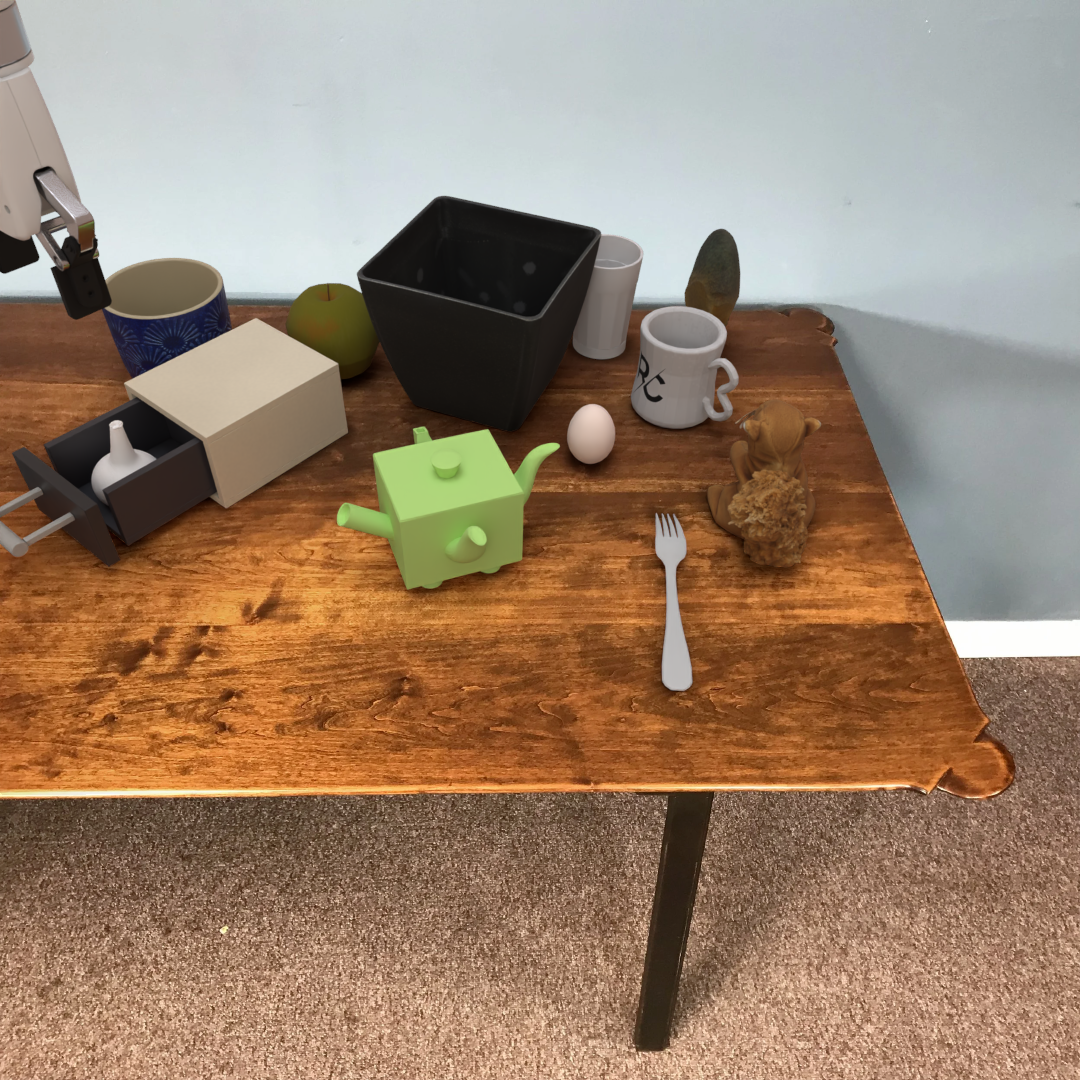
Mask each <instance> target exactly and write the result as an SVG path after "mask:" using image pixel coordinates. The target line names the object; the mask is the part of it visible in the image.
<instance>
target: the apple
mask: <svg viewBox="0 0 1080 1080" xmlns="http://www.w3.org/2000/svg"><path fill="white" fill-rule="evenodd" d="M284 325H285V330H286V333H287V334H286V335H288V336H289V337H291V338H293V339H295V340H297V341H298V342H300V343H302V344H304V345H306V346H307V347H309V348H311V349H313V350H315V351H316V352H318V353H320V354H322V355H324V356H325V357H327V358H329V359H331V360H333V361H334V362H336V363H338V365H339V373H340V380H347V379H352V378H354V377H357V376H359V375H361V374H363V373H364V372H365V371H366V370H367V369H369V368H370V367H371V364H372V363H373V360H374V357H375V354H376V352H377V350H378V347H379V346H380V342H379V339H378V337H377V335H376V332H375V329H374V327H373V324H372V322H371V319H370V316H369V313H368V310H367V307H366V304H365V301H364V298H363V295H362V292H361V291H359V290H357V289H356V288H354V287H352V286H350V285H348V284H344V283H339V282H335V283H334V282H327V283H318V284H314V285H311V286H309V287H307V288H305V290H303V291H302V292H301V293H300V294H299V295H298V296H297V297H296V298H295V299H294V300H293V302H292V304H291V306H290V307H289V311H288V314H287V317H286V321H285V324H284Z"/></svg>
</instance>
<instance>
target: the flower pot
mask: <svg viewBox="0 0 1080 1080" xmlns="http://www.w3.org/2000/svg"><path fill="white" fill-rule="evenodd" d="M601 234H602V231H601V230H600V229H598V228H596V227H594V226H588V225H585V224H580V223H576V222H570V221H565V220H561V219H558V218H553V217H547V216H542V215H538V214H533V213H529V212H525V211H519V210H515V209H511V208H506V207H501V206H498V205H497V206H496V205H492V204H488V203H484V202H477V201H473V200H469V199H464V198H459V197H456V196H450V195H439V196H436V197H434V198H433V199H432V200H431V201H430V202H429V203H427V205H426V206H424V207H423V208H422V209H421V211H420V212H418V213H417V214H416V215H415V216H414V217H413V218H412V219H411V220H410V221H409V222H407V224H406V225H404V226H403V228H402V229H401V230H400V231H398V232H397V233H396V234H395V235H394V236H393V237H392V238H391V239H390V240H389V241H388V242H387V243H386V244H385V245H384V246H383V247H382V248H380V250H378V252H377V253H375V254H374V255H373V256H372V257H371V258H370V259H369V260H368V261H367V262H366V263H364V264H363V265H362V267H361V268H359V270H358V271H357V272H356V278H357V281H358V284H359V288H360V292H361V293H362V295H363V298H364V301H365V304H366V307H367V310H368V313H369V316H370V319H371V322H372V324H373V327H374V329H375V332H376V335H377V337H378V339H379V345H380V346H381V349H382V350H383V353H384V355H385V358H386V359H387V361H388V363H389V365H390V367H391V369H392V371H393V373H394V374H395V376H396V379H397V380H398V382H399V384H400V386H401V387H402V389H403V391H404V392H405V394H406V396H407V397H408V399H409V401H410V402H411V404H412V405H414V406H415V407H419V408H421V409H422V408H423V409H426V410H429V411H433V412H437V413H441V414H444V415H448V416H451V417H454V418H457V419H462V420H465V421H469V422H472V423H476V424H480V425H483V426H487V427H489V428H490V427H491V428H494V429H497V430H501V431H506V432H509V433H510V432H516V431H518V430H519V429H520V428H521V427H522V425H523V424H524V423H525V420H526V419H527V418H528V417H529V415H530V413H531V411H532V410H533V408H534V407H535V405H536V404H537V403H538V401H539V399H540V398H541V397H542V395H543V394H544V392H545V390H546V389H547V387H548V386H549V384H550V382H551V381H552V380H553V379H554V377H555V376H556V374H557V372H558V370H559V368H560V365H561V364H562V361H563V359H564V356H565V354H566V352H567V349H568V347H569V344H570V341H571V339H572V338H573V333H574V329H575V326H576V324H577V321H578V318H579V315H580V312H581V309H582V306H583V303H584V300H585V297H586V293H587V290H588V287H589V283H590V280H591V276H592V272H593V268H594V264H595V260H596V257H597V253H598V248H599V244H600V239H601Z"/></svg>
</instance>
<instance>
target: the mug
mask: <svg viewBox="0 0 1080 1080" xmlns="http://www.w3.org/2000/svg"><path fill="white" fill-rule="evenodd" d="M639 331H640V332H639V334H640V335H639V336H640V337H639V338H640V339H639V340H640V341H639V344H640V345H639V347H640V348H639V349H640V350H639V358H638V364H637V371H636V373H635V377H634V381H633V385H632V390H631V393H630V401H631V406H632V408H633V409H634V411H635V412H636V413H637V414H638V416H639V417H641V418H642V419H643V420H644V421H646V422H648V423H650V424H652V425H655V426H657V427H660V428H666V429H671V430H672V429H673V430H679V429H681V430H682V429H688V428H692V427H695V426H698V425H699V424H701V423H704V422H705V421H706V420H707V419H708V418H710V420H712V421H716V422H720V423H721V422H725V421H727V420H728V419H729V418H730V417H731V416H732V415H733V412H734V411H733V410H734V407H733V404H732V402H731V401H730V399H729V396H728V395H727V394H728V393H731V392H733V391H734V390H735V389H736V388H737V386H738V384H739V378H740V377H739V374H738V371H737V369H736V367H735V366H734V364H733V363H732V362H731V361H729V360H728V359H727V358H726V357H725V358H724V357H723V358H722V357H721V356H722V354H723V350H724V348H725V345H726V341H727V338H728V337H727V335H728V332H727V329H726V326H724V324H723V323H722V322H721V321H720V320H719V319H718V318H716V317H715V316H713V315H712V314H710V313H707V312H705V311H703V310H699V309H696V308H691V307H686V306H684V305H676V306H675V305H672V306H665V307H660V308H657V309H655V310H652V311H650V312H649V313H648V314H646V315H645V316H644V317H643V319H642V320H641V324H640V330H639ZM720 368H722V369H724V371H725V372H726V374H727V376H728V379H729V381H728V382H727V383H725V384H724V383H723V384H722V385H720V386H718V388H717V390H716V381H717V380H716V379H717V374H718V369H720ZM715 394H716V396H717V400H718V401H719V403H720V405H721V408H722V409H723V411H721V412H717V411H716V410H715V409H714V406H715Z"/></svg>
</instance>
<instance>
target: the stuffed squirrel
mask: <svg viewBox="0 0 1080 1080" xmlns="http://www.w3.org/2000/svg"><path fill="white" fill-rule="evenodd" d="M752 416H753V417H752ZM751 417H752V419H750V418H751ZM739 423H740V425H739V427H738V428H739V429H742V428H743V430H744V431H745V432H746V433H747V441H746V440H737V441H735V442H734V443H733V444H732V445H731V448H730V450H729V460H730V463H731V466H732V467H733V471H734V474H735V475H734V476H735V477H736V478H737V481H734V482H730V483H728V484H725V485H722V484H714V485H710V486H709V487H708V488H707V491H706V492H707V493H706V494H707V495H706V496H707V502H708V505H709V508H710V512H711V515H712V517H713V520H714V521H715V523H716V524H717V525H718V526H719V527H721V528H722V529H724V530H725V531H727V532H728V533H730V534H731V535H733V536H735V537H737V538H740V539H742V540H743V541H742V543H743V553H744V554H746V555H749V560H750V561H752V562H753V563H756V564H757V565H760V566H763V565H764V566H765V565H767V566H769V567H774V568H780V567H781V568H790V567H794V565H795V564H801V559H802V554H803V553H804V552H805V549H806V548H807V540H808V538H809V536H808V534H809V531H808V526H809V525H810V523H811V522H812V519H813V517H814V514H815V511H816V505H817V504H816V500H815V497H814V495H813V493H812V491H811V490H810V488H809V477H808V472H807V470H806V467H805V463H804V460H803V458H802V453H803V451H804V448H805V439H806V438H808V437H809V436H812V435H813V434H814V433H816V432H817V431H818V430H819V429H820V428H821V426H822V422H821V421H820V420H819V419H817V418H815V417H805V415H804V413H803V412H802V411H801V410H800V409H799V408H798V407H796V406H794V405H792V404H791V403H788V402H786V401H784V400H781V399H768V400H766V401H764V402H763V403H760V405H759V406H758V407H757V408H755V409H753V410H751V411H749V412H748V413H746V414H744V415H742V417H740V418H739V419H738V420H737V421H735V422H734V424H735V425H737V424H739Z"/></svg>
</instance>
